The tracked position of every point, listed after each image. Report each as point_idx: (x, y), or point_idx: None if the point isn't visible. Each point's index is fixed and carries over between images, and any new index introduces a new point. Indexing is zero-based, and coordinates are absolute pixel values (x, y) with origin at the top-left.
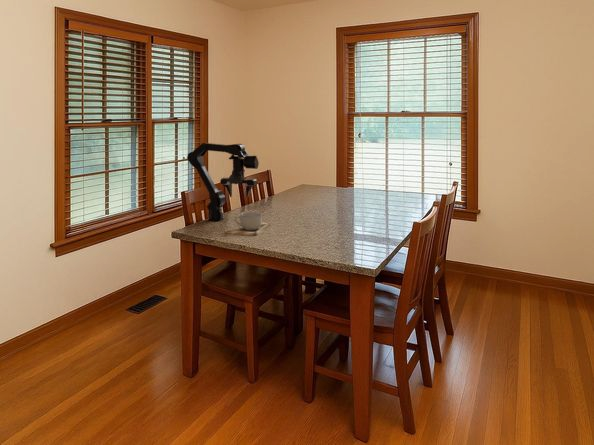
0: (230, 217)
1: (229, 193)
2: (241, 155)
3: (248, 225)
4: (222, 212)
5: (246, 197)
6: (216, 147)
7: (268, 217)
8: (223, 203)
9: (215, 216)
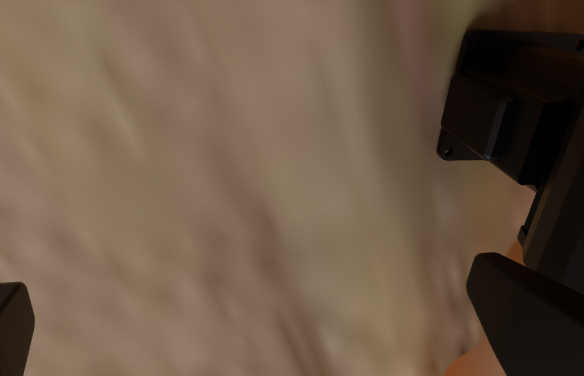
0: (379, 230)
1: (576, 302)
2: None
3: None
4: (476, 150)
5: (16, 290)
6: None
7: None
8: (537, 216)
9: (530, 56)
